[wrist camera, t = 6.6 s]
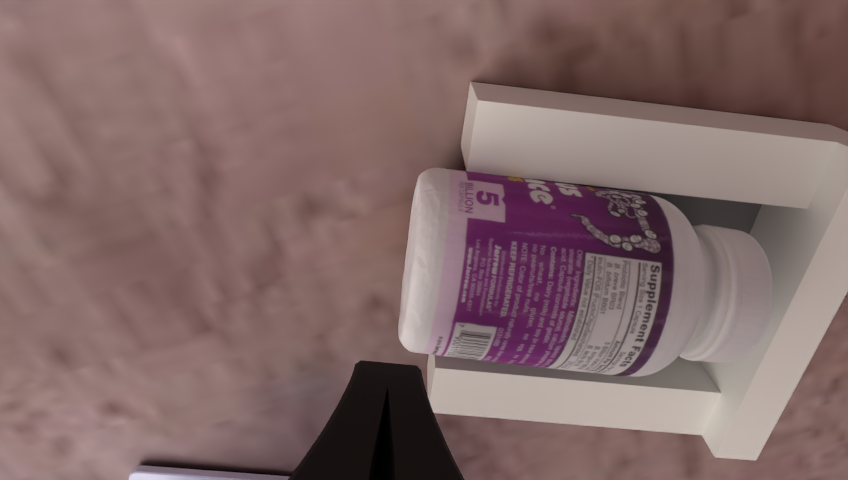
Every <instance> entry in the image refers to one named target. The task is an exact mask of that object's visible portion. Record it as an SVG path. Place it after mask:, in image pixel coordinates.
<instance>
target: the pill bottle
mask: <svg viewBox="0 0 848 480" xmlns="http://www.w3.org/2000/svg"><path fill="white" fill-rule="evenodd" d="M772 301H773V280H772V273H771V268H770V265H769V262H768V259H767V256H766V254H765V252H764V251H763V249H762V247H761V246H760V244H759V243H758V242H757V241H756V240H755V239H754V238H753V237H752V236H751V235H749V234H747V233H745V232H743V231H739V230H735V229H729V228H723V227H717V226H710V225H705V224H701V225H695V226H691V224H690V222H689V221H688V219H687V218H686V217H685V215H684V214H683V213H682V212H681V211H680V210H679V209H678V208H677V207H676V206H674V205H673V204H672V203H670V202H668V201H666V200H665V199H662V198H659V197H657V196H652V195H648V194H642V193H635V192H629V191H620V190H612V189H605V188H598V187H589V186H579V185H575V184H566V183H556V182H549V181H539V180H533V179H526V178H517V177H508V176H501V175H493V174H484V173H478V172H469V171H460V170H451V169H444V168H429V169H427V170H425V171H424V172H422V173H421V174H420V175H419V177H418V180H417V184H416V188H415V192H414V198H413V202H412V209H411V217H410V226H409V235H408V244H407V250H406V258H405V269H404V275H403V282H402V295H401V309H400V317H399V324H398V332H399V339H400V341H401V343H402V345H403V346H404V347H405V348H406V349H407V350H408V351H411V352H415V353H424V354H432V355H439V356H446V357H455V358H464V359H472V360H482V361H489V362H497V363H505V364H514V365H523V366H533V367H542V368H551V369H560V370H569V371H578V372H588V373H597V374H606V375H613V376H634V377H638V376H646V375H649V374H653V373H655V372H658V371H660V370H662V369H663V368H665V367H666V366H668V365H669V364H670V363H672V362H673V361H674V360H675V359H676V358H677V357H678V356H680V357H681V358H684V359H686V360H690V361H704V362H715V363H730V362H735V361H738V360H740V359H742V358H744V357H745V356H747V355H748V354H749V353H750V352H751V351H752V350H753V349H754V348H755V347H756V346H757V344H758V342H759V341H760V340H761V338H762V337H763V334H764V332H765V330H766V328H767V326H768V323H769V318H770V314H771V309H772Z"/></svg>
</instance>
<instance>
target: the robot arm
mask: <svg viewBox="0 0 848 480" xmlns="http://www.w3.org/2000/svg"><path fill="white" fill-rule="evenodd" d="M129 480H464V478H463V476H462V474H461V473H460V471H459V469H458V467H457V465H456V463H455V461H454V459H453V457H452V455H451V453H450V450H449V448H448V446H447V444H446V442H445V439H444V437H443V435H442V432H441V430H440V428H439V425H438V423H437V421H436V418H435V416H434V413H433V410H432V407H431V405H430V402H429V399H428V396H427V393H426V389H425V386H424V382H423V378H422V373H421V370H420V369H419V368H418V367H417V366H414V365H403V364H393V363H382V362H371V361H360V362H358V363H357V364H355V368H354V371H353V374H352V377H351V379H350V382H349V384H348V386H347V388H346V390H345V392H344V394H343V396H342V398H341V400H340V402H339V404H338V406H337V407H336V409H335V411H334V412H333V414H332V416H331V417H330V419H329V421H328V423H327V424H326V426H325V428H324V429H323V431H322V432H321V434H320V435H319V437H318V438H317V440H316V441H315V443H314V444H313V446H312V447H311V449H310V450H309V451H308V453H307V454H306V456H305V457H304V459H303V460H302V462H301V463H300V464H299V466H298V467H297V468H296V470H295V471H294V472H293V474H292V475H291V476H277V475H264V474H251V473H237V472H224V471H211V470H198V469H184V468H171V467H158V466H144V465H142V466H137V467H134V469H133V470H132V471H131V473H130V475H129Z"/></svg>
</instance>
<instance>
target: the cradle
mask: <svg viewBox="0 0 848 480" xmlns="http://www.w3.org/2000/svg"><path fill="white" fill-rule="evenodd" d="M461 149H462V154H463V158H464V163H465V167H466V171H469V172H478V173H484V174H493V175H501V176H508V177H517V178H526V179H533V180H539V181H549V182H556V183H566V184H575V185H579V186H589V187H598V188H605V189H612V190H620V191H629V192H635V193H642V194H648V195H652V196H657V197H659V198H662V199H665V200H666V201H668V202H670V203H672V204H673V205H674V206H676V207H677V208H678V209H679V210H680V211H681V212H682V213H683V214H684V215H685V217H686V218H687V219H688V221H689V222H690V224H691V226H695V225H701V224H705V225H710V226H717V227H723V228H729V229H735V230H739V231H743V232H745V233H747V234H749V235H751V236H752V237H753V238H754V239H755V240H756V241H757V242H758V243H759V244H760V246H761V247H762V249H763V251H764V252H765V254H766V256H767V259H768V262H769V265H770V268H771V273H772V280H773V301H772V309H771V314H770V318H769V323H768V326H767V328H766V330H765V332H764V334H763V337H762V338H761V340H760V341H759V342H758V344H757V346H756V347H755V348H754V349H753V350H752V351H751V352H750V353H749V354H748V355H747V356H745V357H744V358H742V359H740V360H738V361H735V362H730V363H715V362H704V361H690V360H686V359H684V358H681V357H680V356H678V357H677V358H676V359H675V360H674V361H673V362H672V363H670V364H669V365H668V366H666V367H665V368H663V369H662V370H660V371H658V372H655V373H653V374H649V375H646V376H638V377H634V376H613V375H606V374H597V373H588V372H578V371H569V370H560V369H551V368H542V367H533V366H523V365H514V364H505V363H497V362H489V361H482V360H472V359H464V358H455V357H446V356H439V355H432V354H429V357H428V363H427V387H428V399H429V402H430V405H431V407H432V410H433V413H441V414H453V415H465V416H477V417H489V418H501V419H513V420H525V421H537V422H549V423H561V424H573V425H585V426H597V427H609V428H622V429H634V430H646V431H658V432H670V433H682V434H694V435H702V437H703V438H704V440H705V442H706V443H707V445H708V447H709V448H710V450H711V452H712V454H713V455H714V457H718V458H731V459H743V460H757V458H758V456H759V454H760V452H761V451H762V449H763V447H764V445H765V443H766V441H767V440H768V438H769V436H770V434H771V432H772V430H773V428H774V427H775V425H776V423H777V421H778V419H779V417H780V416H781V414H782V412H783V410H784V408H785V406H786V404H787V403H788V401H789V399H790V397H791V395H792V393H793V392H794V390H795V388H796V386H797V384H798V382H799V380H800V379H801V377H802V375H803V373H804V371H805V369H806V368H807V366H808V364H809V362H810V360H811V358H812V356H813V355H814V353H815V351H816V349H817V347H818V345H819V343H820V342H821V340H822V338H823V336H824V334H825V332H826V331H827V329H828V327H829V325H830V323H831V321H832V319H833V318H834V316H835V314H836V312H837V310H838V308H839V307H840V305H841V303H842V301H843V299H844V297H845V295H846V294H847V292H848V132H847V131H845V130H842V129H840V128H837V127H835V126H832V125H830V124H822V123H813V122H805V121H797V120H788V119H780V118H771V117H763V116H755V115H746V114H738V113H729V112H721V111H713V110H704V109H696V108H687V107H679V106H671V105H662V104H654V103H645V102H637V101H629V100H620V99H612V98H603V97H595V96H587V95H578V94H570V93H561V92H553V91H545V90H536V89H528V88H519V87H511V86H503V85H494V84H486V83H477V82H470V87H469V93H468V100H467V106H466V113H465V119H464V126H463V133H462V139H461Z"/></svg>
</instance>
